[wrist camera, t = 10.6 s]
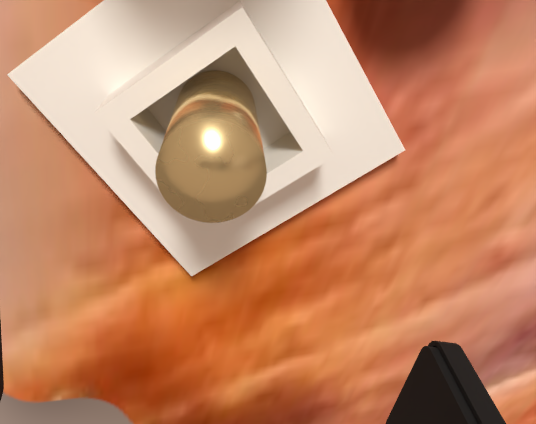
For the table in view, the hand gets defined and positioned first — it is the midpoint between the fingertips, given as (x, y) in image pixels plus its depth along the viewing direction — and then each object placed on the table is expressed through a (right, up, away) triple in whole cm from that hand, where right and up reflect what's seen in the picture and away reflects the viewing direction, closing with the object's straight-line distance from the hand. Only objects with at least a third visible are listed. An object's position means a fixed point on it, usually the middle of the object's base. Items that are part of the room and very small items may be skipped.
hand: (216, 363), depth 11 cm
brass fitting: (-2, +9, +16) cm, 19 cm away
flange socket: (-2, +9, +18) cm, 20 cm away
